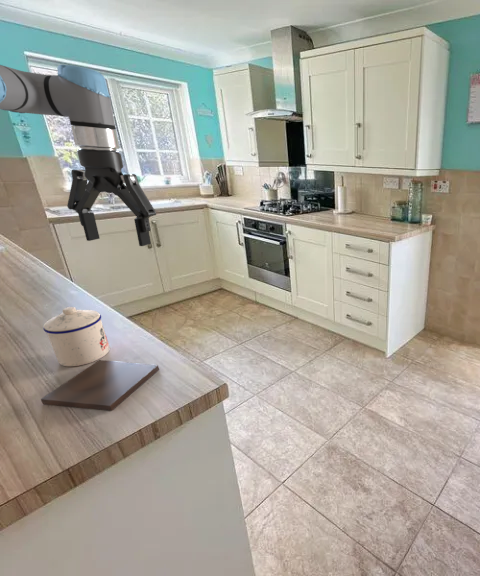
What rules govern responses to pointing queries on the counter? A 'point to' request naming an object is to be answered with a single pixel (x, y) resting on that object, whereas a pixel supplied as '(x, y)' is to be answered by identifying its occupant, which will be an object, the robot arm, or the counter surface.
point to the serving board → (101, 385)
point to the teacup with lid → (77, 336)
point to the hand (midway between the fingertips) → (119, 242)
